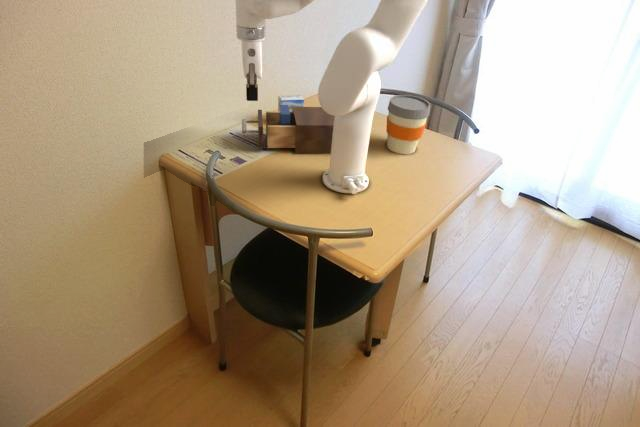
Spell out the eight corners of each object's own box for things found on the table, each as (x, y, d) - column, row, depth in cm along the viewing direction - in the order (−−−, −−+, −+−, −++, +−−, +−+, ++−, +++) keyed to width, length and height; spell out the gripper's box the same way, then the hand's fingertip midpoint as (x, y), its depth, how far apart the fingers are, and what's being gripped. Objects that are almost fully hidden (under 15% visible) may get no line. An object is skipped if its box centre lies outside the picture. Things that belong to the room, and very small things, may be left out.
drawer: (242, 150, 130) (241, 126, 125) (242, 131, 140) (241, 109, 135) (317, 150, 133) (319, 127, 129) (312, 132, 143) (314, 110, 139)
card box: (280, 142, 133) (281, 114, 128) (279, 132, 139) (279, 104, 133) (289, 142, 133) (290, 114, 128) (287, 132, 139) (288, 105, 134)
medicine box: (280, 125, 148) (280, 100, 142) (277, 119, 151) (278, 95, 146) (303, 124, 150) (304, 99, 144) (300, 118, 153) (301, 94, 148)
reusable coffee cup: (400, 160, 134) (410, 113, 125) (373, 143, 141) (380, 98, 133) (429, 151, 140) (440, 106, 131) (401, 135, 148) (409, 92, 139)
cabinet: (295, 153, 132) (296, 125, 127) (291, 133, 143) (292, 106, 138) (356, 153, 135) (359, 125, 130) (347, 133, 146) (350, 107, 141)
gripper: (266, 40, 111) (266, 110, 122) (264, 25, 124) (264, 89, 134) (236, 39, 110) (238, 109, 121) (236, 24, 123) (239, 89, 133)
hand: (252, 98), depth 128 cm, fingers closed
